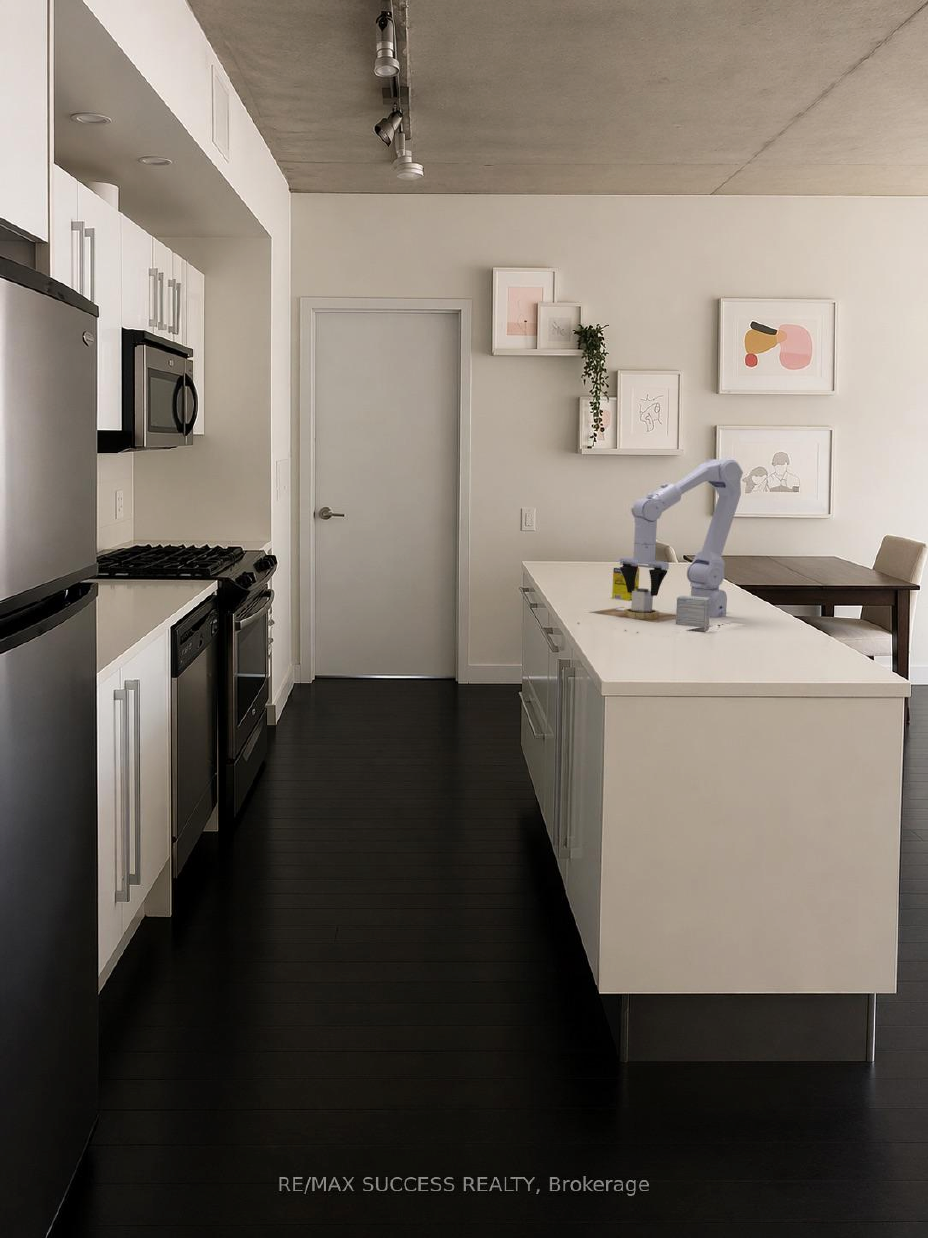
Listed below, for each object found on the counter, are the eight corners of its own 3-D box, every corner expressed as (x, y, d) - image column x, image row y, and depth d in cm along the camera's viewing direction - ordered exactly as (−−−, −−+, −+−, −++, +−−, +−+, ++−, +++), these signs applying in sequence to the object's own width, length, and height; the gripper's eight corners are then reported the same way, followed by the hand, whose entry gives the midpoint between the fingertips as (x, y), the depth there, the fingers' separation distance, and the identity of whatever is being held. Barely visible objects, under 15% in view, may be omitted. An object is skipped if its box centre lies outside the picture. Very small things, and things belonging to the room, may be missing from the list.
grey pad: (649, 611, 317) (649, 609, 317) (635, 613, 312) (635, 612, 312) (629, 608, 322) (629, 606, 322) (614, 610, 317) (614, 609, 317)
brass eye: (665, 617, 307) (665, 611, 307) (645, 620, 300) (646, 614, 300) (637, 613, 313) (637, 607, 313) (617, 616, 306) (617, 610, 306)
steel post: (651, 616, 307) (653, 589, 305) (643, 618, 304) (644, 590, 303) (639, 615, 309) (640, 587, 308) (630, 616, 307) (632, 588, 305)
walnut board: (688, 621, 309) (689, 616, 309) (655, 627, 298) (655, 622, 298) (622, 612, 324) (622, 606, 324) (588, 617, 313) (588, 612, 312)
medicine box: (709, 630, 296) (710, 597, 295) (705, 632, 292) (707, 599, 291) (679, 627, 300) (681, 595, 298) (674, 630, 296) (676, 597, 294)
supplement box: (628, 605, 338) (630, 569, 336) (611, 603, 341) (612, 567, 340) (638, 603, 342) (640, 567, 341) (621, 601, 346) (622, 565, 344)
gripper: (613, 542, 306) (611, 592, 308) (659, 546, 296) (656, 598, 298) (629, 540, 311) (626, 590, 313) (674, 545, 301) (671, 596, 303)
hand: (642, 594), depth 306 cm, fingers open, 7 cm apart
